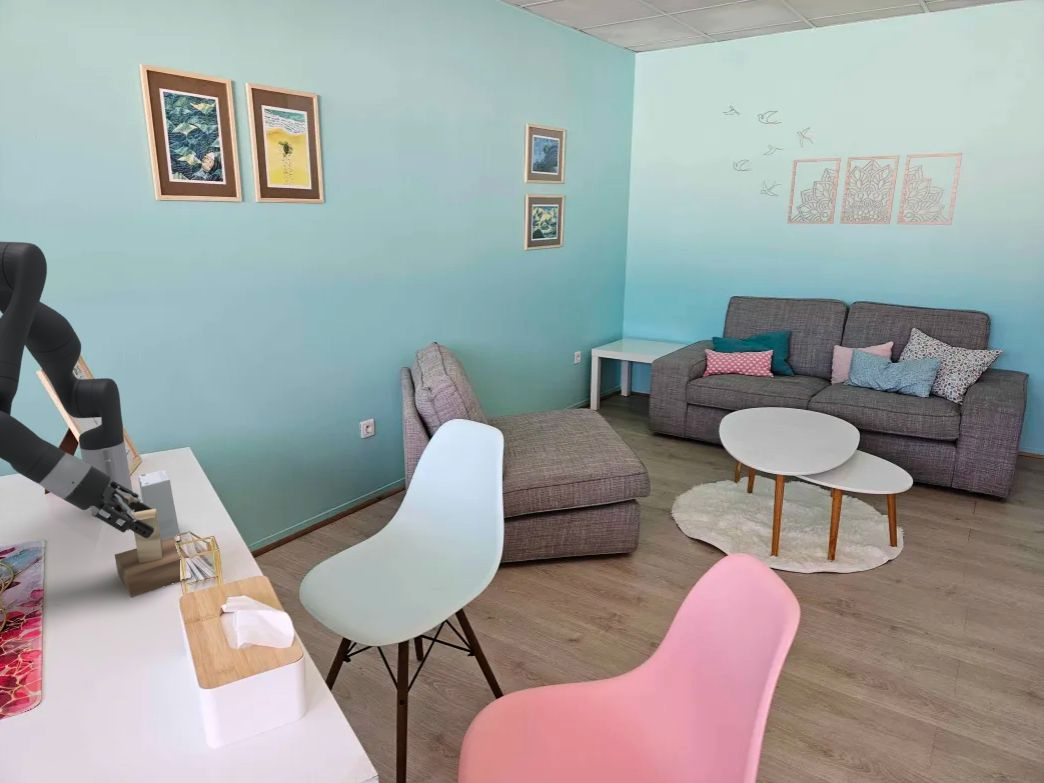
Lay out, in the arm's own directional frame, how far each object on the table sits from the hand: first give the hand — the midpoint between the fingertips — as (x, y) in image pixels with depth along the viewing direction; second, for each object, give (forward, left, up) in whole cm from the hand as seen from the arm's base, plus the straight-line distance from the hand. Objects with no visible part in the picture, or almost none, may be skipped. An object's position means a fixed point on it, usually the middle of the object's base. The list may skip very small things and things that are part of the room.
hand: (152, 525), depth 137 cm
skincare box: (-18, 0, -11) cm, 21 cm away
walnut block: (0, -1, -12) cm, 12 cm away
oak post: (0, -1, -7) cm, 7 cm away
